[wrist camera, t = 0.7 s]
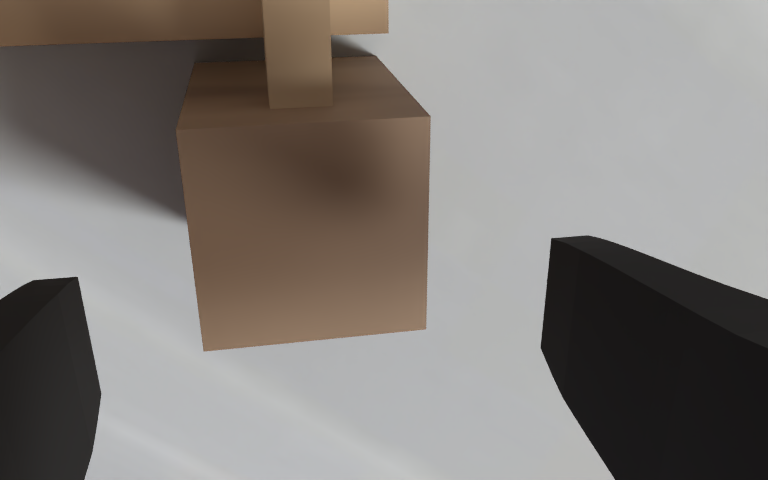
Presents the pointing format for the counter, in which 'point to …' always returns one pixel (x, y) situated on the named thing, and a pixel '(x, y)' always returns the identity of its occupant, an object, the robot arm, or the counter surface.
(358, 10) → the board
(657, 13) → the counter surface
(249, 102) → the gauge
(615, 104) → the counter surface
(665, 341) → the robot arm
